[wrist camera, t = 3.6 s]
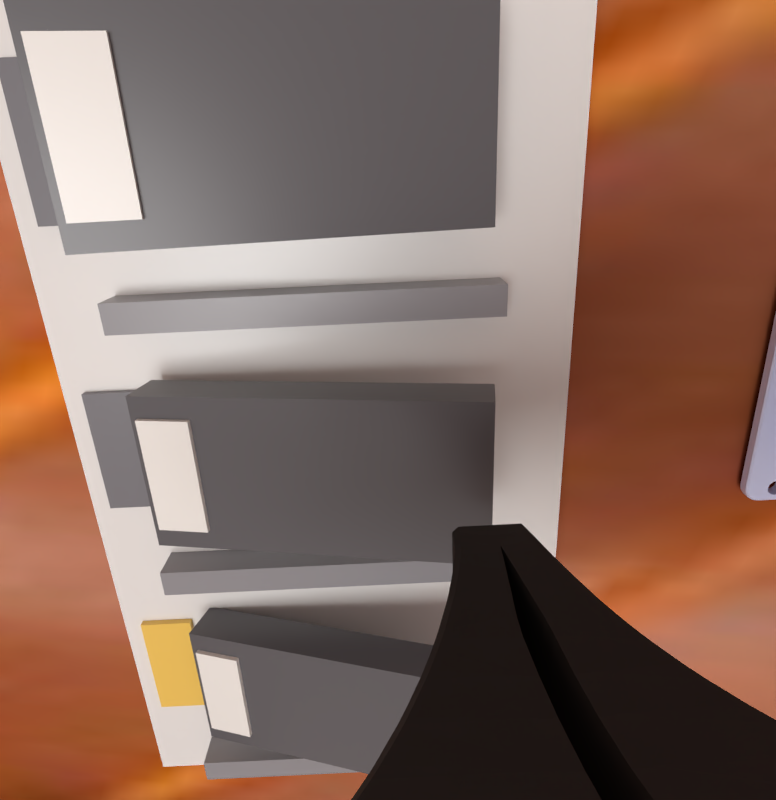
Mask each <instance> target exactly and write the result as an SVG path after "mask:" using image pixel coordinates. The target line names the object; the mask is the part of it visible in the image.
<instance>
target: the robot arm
mask: <svg viewBox="0 0 776 800" xmlns="http://www.w3.org/2000/svg"><path fill="white" fill-rule="evenodd" d="M775 481H776V313H775V318H774V323H773V328H772V333H771V338H770V342H769V347H768V352H767V357H766V362H765V367H764V372H763V377H762V381H761V386H760V391H759V396H758V401H757V406H756V411H755V415H754V420H753V425H752V430H751V435H750V440H749V445H748V450H747V454H746V459H745V464H744V469H743V474H742V479H741V484H740V488H741V491H742V492H743V493H744V494H745V495H746V496H747V497H748V498H750V499H752V500H776V483H775V485H774V486H772V487H771V488H768V487H769V485H770V484H771V483H773V482H775ZM452 562H453V573H452V578H451V583H450V588H449V594H448V598H447V602H446V606H445V609H444V613H443V616H442V620H441V623H440V626H439V630H438V633H437V636H436V639H435V642H434V645H433V647H432V650H431V653H430V656H429V658H428V661H427V663H426V665H425V668H424V670H423V673H422V675H421V678H420V680H419V682H418V684H417V686H416V688H415V691H414V693H413V695H412V697H411V699H410V701H409V703H408V706H407V707H406V709H405V711H404V713H403V715H402V717H401V719H400V721H399V723H398V725H397V727H396V728H395V730H394V732H393V734H392V735H391V737H390V739H389V740H388V742H387V744H386V746H385V747H384V749H383V751H382V753H381V754H380V756H379V758H378V759H377V761H376V763H375V765H374V766H373V768H372V770H371V771H370V773H369V774H368V776H367V777H366V779H365V780H364V782H363V783H362V785H361V786H360V788H359V789H358V791H357V792H356V794H355V795H354V796H353V798H352V799H351V800H776V720H775V719H773V718H771V717H769V716H768V715H766V714H764V713H762V712H760V711H759V710H757V709H755V708H753V707H751V706H750V705H748V704H746V703H745V702H743V701H741V700H740V699H738V698H736V697H735V696H733V695H732V694H730V693H728V692H727V691H725V690H723V689H722V688H720V687H718V686H717V685H715V684H714V683H712V682H710V681H709V680H707V679H705V678H704V677H702V676H701V675H699V674H698V673H696V672H695V671H693V670H692V669H690V668H688V667H687V666H685V665H684V664H682V663H681V662H680V661H678V660H677V659H675V658H674V657H673V656H671V655H670V654H668V653H667V652H666V651H664V650H663V649H661V648H660V647H659V646H657V645H656V644H654V643H653V642H651V641H650V640H649V639H647V638H646V637H645V636H643V635H642V634H641V633H639V632H638V631H637V630H635V629H634V628H633V627H632V626H630V625H629V624H628V623H627V622H625V621H624V620H623V619H622V618H621V617H619V616H618V615H617V614H616V613H615V612H613V611H612V610H611V609H610V608H608V607H607V606H606V605H605V604H604V603H603V602H602V601H600V600H599V599H598V598H597V597H596V596H595V595H594V594H593V593H592V592H590V591H589V590H588V589H587V588H586V587H585V586H584V585H583V584H582V583H581V582H580V581H579V580H578V579H576V578H575V577H574V576H573V575H572V574H571V573H570V572H569V571H568V570H567V569H566V568H565V567H564V566H563V565H562V564H561V563H560V562H559V561H558V560H557V559H556V558H555V557H554V556H553V555H552V554H551V553H550V552H549V551H548V550H547V549H546V548H545V547H544V546H543V545H542V544H541V543H540V542H539V541H538V540H537V539H536V538H535V536H534V535H533V534H532V533H531V532H530V531H529V530H528V529H527V528H526V527H525V526H524V525H522V524H521V523H520V524H501V525H481V526H462V527H457V528H456V529H455V530H454V531H453V532H452Z"/></svg>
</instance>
